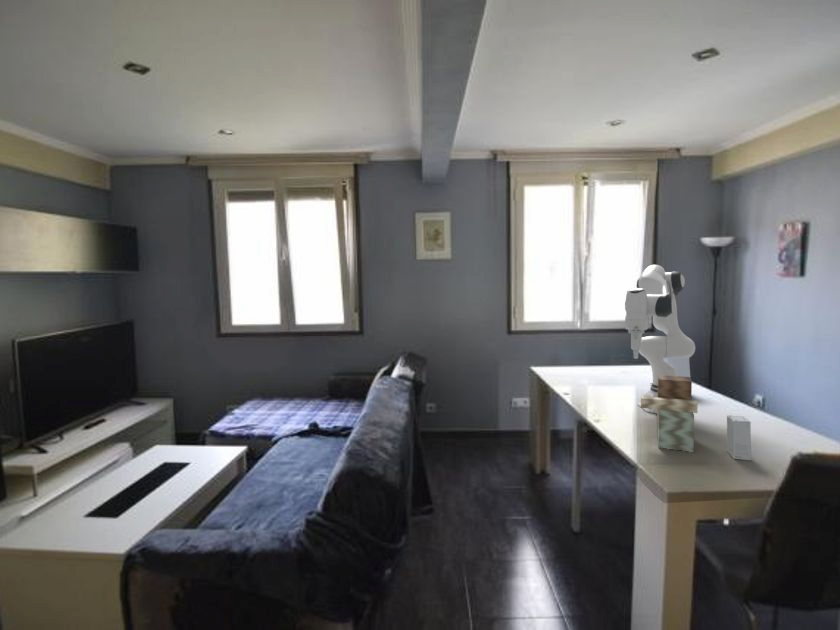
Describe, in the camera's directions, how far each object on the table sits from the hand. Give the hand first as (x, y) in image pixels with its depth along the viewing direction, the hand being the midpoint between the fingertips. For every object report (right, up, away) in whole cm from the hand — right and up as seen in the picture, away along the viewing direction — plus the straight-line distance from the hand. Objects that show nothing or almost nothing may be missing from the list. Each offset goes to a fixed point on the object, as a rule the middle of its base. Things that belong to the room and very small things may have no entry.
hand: (636, 356), depth 192 cm
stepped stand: (+11, -35, -9) cm, 38 cm away
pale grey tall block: (+55, -29, +65) cm, 90 cm away
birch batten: (+6, -20, -13) cm, 25 cm away
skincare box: (+27, -36, -25) cm, 51 cm away
